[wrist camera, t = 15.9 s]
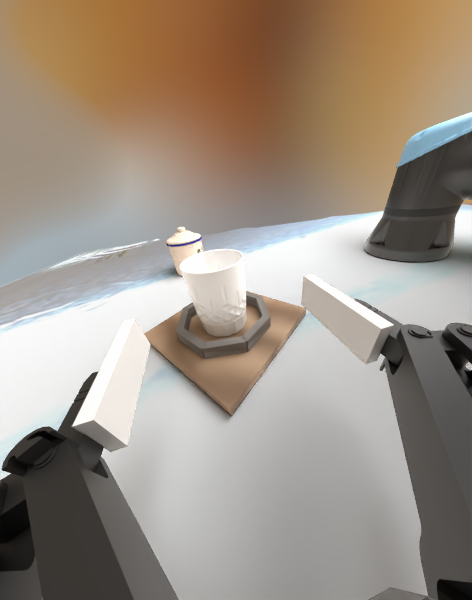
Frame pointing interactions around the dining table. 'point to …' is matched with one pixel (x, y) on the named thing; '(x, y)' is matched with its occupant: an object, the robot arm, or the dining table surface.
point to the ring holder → (227, 347)
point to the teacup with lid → (184, 246)
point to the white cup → (217, 289)
